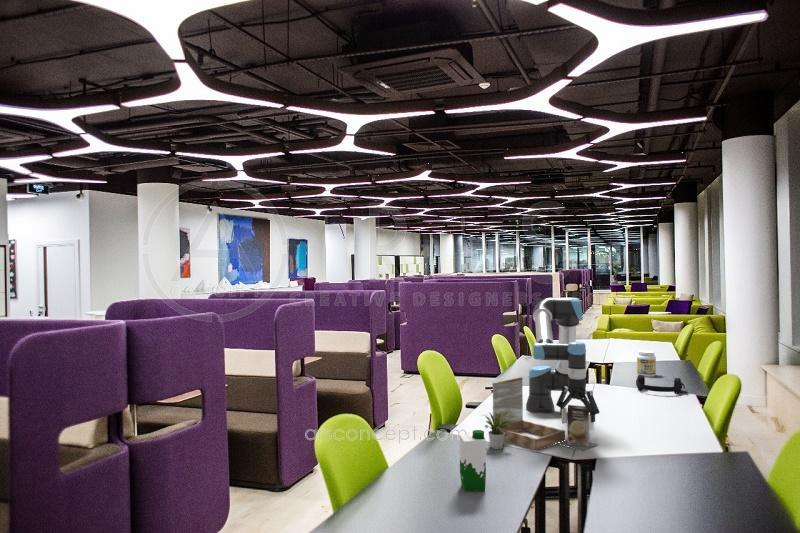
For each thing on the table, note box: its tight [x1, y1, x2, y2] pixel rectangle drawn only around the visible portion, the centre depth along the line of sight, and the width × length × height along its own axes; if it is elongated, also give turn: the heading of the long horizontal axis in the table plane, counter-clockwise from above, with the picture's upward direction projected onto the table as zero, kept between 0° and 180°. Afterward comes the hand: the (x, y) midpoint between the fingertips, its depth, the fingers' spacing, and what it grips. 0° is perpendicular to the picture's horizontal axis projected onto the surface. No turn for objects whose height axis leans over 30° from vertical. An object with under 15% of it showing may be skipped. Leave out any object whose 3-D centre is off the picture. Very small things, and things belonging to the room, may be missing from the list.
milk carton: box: [459, 429, 487, 493], centre depth 206 cm, size 9×9×20 cm
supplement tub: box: [636, 350, 657, 378], centre depth 407 cm, size 12×12×17 cm
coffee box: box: [566, 404, 590, 447], centre depth 253 cm, size 9×6×16 cm
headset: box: [635, 374, 686, 394], centre depth 358 cm, size 28×26×9 cm
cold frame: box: [492, 376, 566, 451], centre depth 263 cm, size 25×20×25 cm
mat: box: [557, 439, 598, 452], centre depth 254 cm, size 12×12×1 cm
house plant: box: [482, 410, 514, 450], centre depth 251 cm, size 14×14×16 cm
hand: (577, 426), depth 254 cm, fingers open, 13 cm apart
